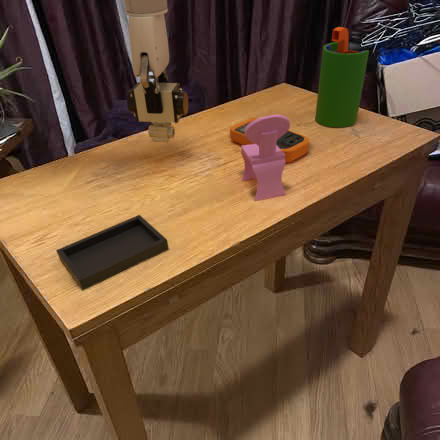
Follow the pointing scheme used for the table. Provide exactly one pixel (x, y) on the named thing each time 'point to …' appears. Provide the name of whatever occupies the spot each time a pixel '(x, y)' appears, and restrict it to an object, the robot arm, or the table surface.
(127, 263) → the black tray
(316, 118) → the green cylindrical container
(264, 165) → the toy chair
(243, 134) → the multimeter
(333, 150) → the table surface
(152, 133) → the pneumatic valve
